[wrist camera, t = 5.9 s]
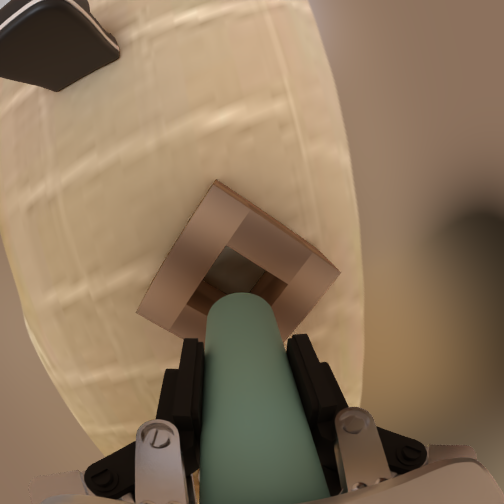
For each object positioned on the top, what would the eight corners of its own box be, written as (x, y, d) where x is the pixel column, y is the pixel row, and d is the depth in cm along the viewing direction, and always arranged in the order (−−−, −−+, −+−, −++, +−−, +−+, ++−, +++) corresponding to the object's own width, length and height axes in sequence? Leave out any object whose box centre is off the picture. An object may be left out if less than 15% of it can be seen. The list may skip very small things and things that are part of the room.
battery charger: (117, 25, 15) (58, -42, 4) (124, 58, 16) (55, -5, 6) (50, 62, 15) (-30, 29, 4) (54, 95, 16) (-36, 72, 6)
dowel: (230, 357, 15) (250, 583, 3) (193, 313, 13) (170, 581, 2) (285, 329, 14) (364, 560, 3) (253, 280, 13) (326, 573, 2)
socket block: (249, 337, 25) (255, 373, 20) (151, 282, 22) (135, 312, 18) (318, 249, 23) (341, 272, 18) (216, 179, 20) (213, 184, 16)
